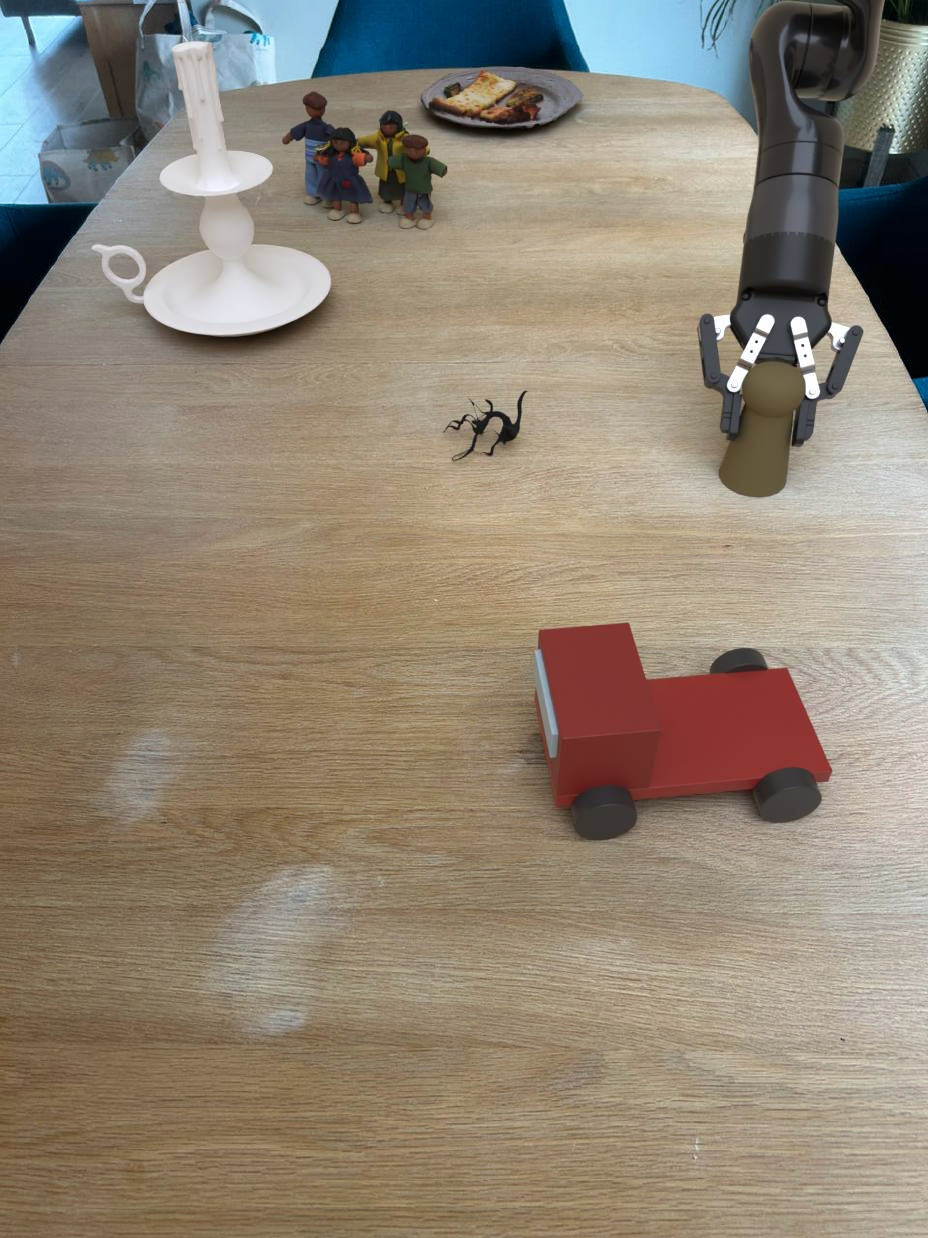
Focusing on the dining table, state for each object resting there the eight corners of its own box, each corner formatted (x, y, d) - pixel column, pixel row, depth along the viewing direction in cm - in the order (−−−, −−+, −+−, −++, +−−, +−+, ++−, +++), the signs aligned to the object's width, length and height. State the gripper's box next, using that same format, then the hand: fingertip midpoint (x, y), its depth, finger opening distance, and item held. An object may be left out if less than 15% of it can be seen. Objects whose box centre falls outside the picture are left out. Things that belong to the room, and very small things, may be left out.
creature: (433, 469, 94) (512, 470, 91) (419, 419, 91) (500, 419, 87) (462, 423, 99) (538, 423, 96) (450, 375, 96) (528, 373, 93)
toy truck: (771, 680, 74) (799, 591, 67) (828, 818, 66) (867, 732, 59) (524, 702, 73) (529, 613, 66) (551, 845, 64) (559, 760, 58)
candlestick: (126, 276, 119) (54, 10, 99) (333, 264, 121) (304, 0, 101) (98, 369, 105) (7, 80, 85) (334, 354, 106) (299, 67, 86)
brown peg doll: (782, 502, 88) (811, 395, 80) (713, 489, 90) (736, 383, 82) (789, 463, 92) (818, 357, 84) (723, 451, 94) (746, 346, 86)
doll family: (272, 219, 130) (255, 110, 120) (292, 190, 136) (278, 84, 126) (446, 231, 127) (444, 120, 117) (459, 201, 133) (458, 93, 123)
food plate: (523, 151, 145) (524, 125, 142) (393, 120, 154) (391, 96, 151) (603, 99, 159) (605, 75, 157) (480, 74, 168) (480, 50, 166)
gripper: (708, 222, 83) (683, 426, 83) (888, 233, 81) (862, 443, 81) (699, 254, 90) (676, 442, 91) (863, 265, 88) (840, 457, 89)
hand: (764, 441), depth 86 cm, fingers closed on brown peg doll, 5 cm apart
